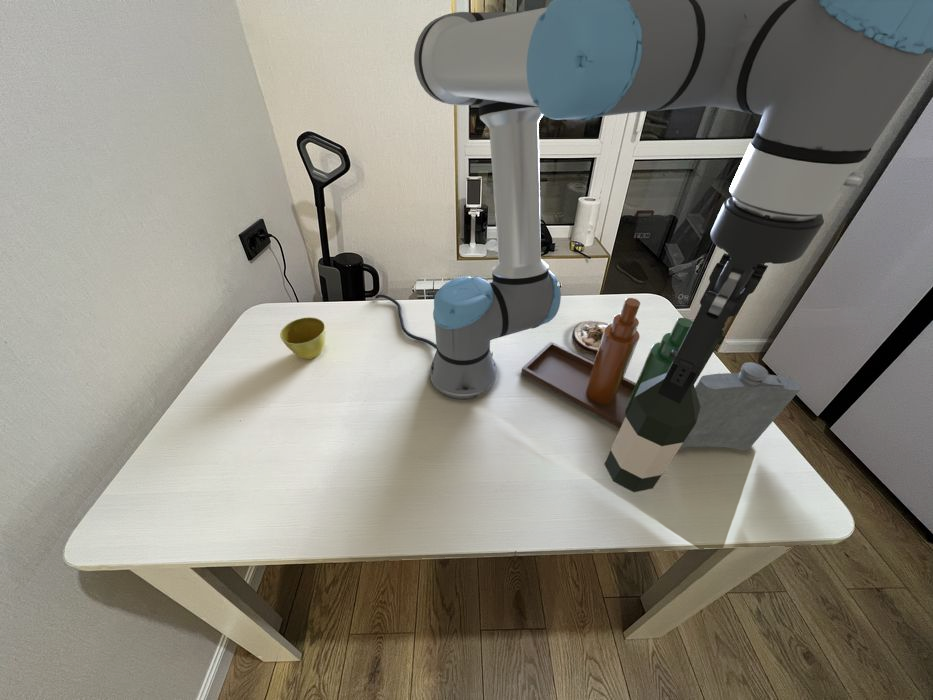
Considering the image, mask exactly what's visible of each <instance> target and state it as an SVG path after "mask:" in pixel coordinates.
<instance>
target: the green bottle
mask: <svg viewBox="0 0 933 700" xmlns="http://www.w3.org/2000/svg"><path fill="white" fill-rule="evenodd" d="M692 322H693V321H692V320H691V319H689V318H686V317H678V318H677V319H676V321H675V323H674V325H673V327H672V329H671V332H667V333H664V334H663V336H662V338H661V339H660V342H656V343H654V344H653V345H652V346H651V347H650V350H649V352H648V354H647V357H646V359H645V362H644V364H643V366H642V368H641V370H640V373H639V375H638V378H637V380H636V381H635V383H636V385H635V387H634V389H633V392H632V394H631V396H630V398H629V401H628V403H627V405H626V408H625V413H626V415H627V413H628V410H629V408H630V406H631V404H632V402H633V399H634V397H635V395H636V393H637V391H638V388H639V386H640V384H641V383H642V382H645V381H647V380H650V379H652V378H655V377H657V376H660V375H662V374H665V373H667V372H668V370H669V368H670V366H671V364H672V362H673V357H671V356H669V355H670V353H671V352H672V350H673V349H674V350H677V351H678V350H679V348H680V346H681V344H682V342H683V340H684V338H685V336H686V334H687V332H688V330H689V328H690V326H691V324H692Z"/></svg>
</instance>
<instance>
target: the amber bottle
mask: <svg viewBox="0 0 933 700" xmlns="http://www.w3.org/2000/svg"><path fill="white" fill-rule="evenodd" d="M640 306H641V301H639V300H638V299H637V298H633V297H628V298H625V299H624V303H623V305H622V308H621V311H620V313H617V314H615V315H614V317H613V319H612V322H611V323H607V324H608V325H607V326H606V327H605V329H604V332H603V335H602V339H601V342H600V345H599V348H598V352H597V355H595V358H594V365H593V368H592V371H591V374H590V378H589V381H588V384H587V387H586V393H587V395H588V397H589V398H590V399H592V400H593V401H595V402H597V403H600V404H609V403H612V402H613V401H614V400H615V399H616V396H617V394H618V391H619V389H620V386H621V383H622V381H623V378H625V375H626V373H627V371H628V368H629V366H630V363H631V361H632V358H633V355H634V353H635V351H636V348H637V345H638V343H639V341H640V336H641V335H640V332H639V331H638V330H637V329H638V326H639V323H640V321H639V319H638V318H637V314H638V312H639V309H640Z"/></svg>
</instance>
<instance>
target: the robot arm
mask: <svg viewBox="0 0 933 700" xmlns="http://www.w3.org/2000/svg"><path fill="white" fill-rule="evenodd" d="M413 53H414V54H413V62H414V63H413V65H414V70H415V74H416V77H417V80H418V81H419V84H420V86H421V87H422V89H423V90H424V92H426V93H427V94H428V96H429V97H431V98H432V99H433V100H435V101H437V102H440V103H442V104H447V105H451V106H478V111H479V120H480V121H481V122H483V124H485V126H487V128H488V129H489V145H490V157H491V169H492V170H491V173H492V186H493V188H492V189H493V200H494V201H493V203H494V217H495V229H496V230H495V231H496V243H497V258H498V262H497V263H496V265H494V266H493V268H492V270H491V275H492V281H491V282H489V281H487V280H486V279H484V278H482V277H478V276H474V277H471V276H461V277H460V276H459V277H457V278H454V279H451V280H449V281H447V282H446V283H444V284H442V286H440V288H439V289H437V292H436V294H435V295H434V299H433V312H432V317H433V320H434V321H433V322H434V331H435V342H434V341H431V340H430V339H427V338H424V337H420V336H417V335H415V334H412V333H411V332H410V331H409V330H407V328H406V327H405V322H404V318H403V312H402V306H401V304H400V303H399V302H398V301H397V300H396V299H394V298H393V297H391V296H389V295H386V294H382V293H381V294H380V293H379V294H377V295H375V296H374V298H375V299H379V298H383V299H386V300H389V301H390V302H392V303H393V304H394V305H396V307H397V313H398V319H399V322H400V327H401V330H402V332H403V333H404V334H405V335H406V336H407V337H409V338H411V339H412V340H416V341H419V342H423V343H426V344H427V345H429V346H431V347H432V348H434V349H435V350H436V351H435V353H434V357H433V359H432V362H431V365H430V380H431V383H432V385H433V387H434V388H435V389H436V390H437V391H438V392H439V393H441V394H442V395H444V396H446V397H448V398H452V399H458V400H470V399H475V398H478V396H479V395H482V394H483V393H486V392H487V391H488V390H489V389H491V387H493V385H494V383H495V381H496V380H497V366H496V362H495V360H494V358H493V355H494V351H491V341H493V340H497V339H499V338H501V337H507V336H510V335H513V334H516V333H519V332H524V331H527V330H530V329H531V330H532V329H536V328H539V327H540V326H542V325H545V324H548V323H549V322H551V321H553V319H554V318H555V317H556V316H557V314H558V312H559V309H560V306H561V299H562V293H561V286H560V285H559V284H558V282H559V279H557V276H556V275H555V274H554V273H553V272H552V271H551V270H550V269H549V268H550V267H549V264H547V262H545V261H544V260H543V259H542V254H541V253H542V249H541V248H542V247H541V246H542V245H541V244H542V243H541V242H542V241H541V196H540V195H541V190H540V188H541V186H540V185H541V184H540V181H541V180H540V133H539V132H540V131H539V129H540V128H539V127H540V126H539V124H540V120H541V119H542V118H543V116H544V117H546V118H548V119H551V120H568V121H591V120H593V119H596V118H600V117H608V116H616V115H625V114H633V113H640V112H641V113H643V112H644V113H645V112H659V111H667V110H668V111H669V110H677V109H688V108H697V107H698V108H699V107H712V108H713V107H714V108H720V109H724V110H732V111H738V112H743V113H746V114H751V115H755V116H761V119H760V122H759V124H758V127H757V129H756V132H755V134H754V137H753V139H752V140H751V141H750V143H749V145H748V147H747V149H746V151H745V154H744V156H743V158H742V160H741V162H740V165H739V166H738V169H737V171H736V173H735V176H734V178H733V179H732V182H731V185H730V187H729V189H728V190H729V194H730V197H728V198H727V199H725V200H724V201H723V204H722V206H721V208H720V211H719V212H718V214H717V217H716V219H715V221H714V222H713V223H714V224H713V226H712V228H711V230H710V238H711V241H712V243H713V244H714V245H715V246H716V247H717V248H719V249H720V250H723V251H724V252H726V253H723V254H722V256H721V258H720V260H719V261H718V262H717V263H716V264H715V265H714V267H713V269H712V271H711V273H710V275H709V277H708V281H709V283H708V285H707V286H706V289H705V291H704V293H703V294H702V297H701V298H700V301H699V304H700V307H699V309H698V311H697V313H696V315H695V317H694V319H693V321H692V322H693V323H692V325H691V327H690V329H689V331H688V333H687V335H686V337H685V339H684V341H683V343H682V345H681V347H680V349H679V351H677V350H674V349H673V350H672V352H671V353H670V355H669V356H671V357H673V364H672V366H671V368H670V370H669V372H668V374H667V375H666V377H665V379H664V381H663V383H662V385H661V387H660V389H659V391H658V393H659V394H661V395H663V396H665V397H667V398H669V399H671V400H673V401H675V402H677V403H679V404H680V402H681V401H682V399H683V397H684V395H685V394H686V392H687V390H688V389H689V387H690V385H691V383H692V382H693V380H694V378H695V377H696V375H697V373H698V371H699V370H700V369H701V366H702V365H703V363H704V362H703V360H704V359H705V357H706V355H707V353H708V352H709V350H710V348H711V347H712V345H713V343H714V341H715V340H716V338H717V336H718V335H719V333H720V331H721V329H722V330H723V329H724V328H725V326H726V323H727V321H728V319H729V318H731V317H735V316H737V314H739V311H740V310H741V308H742V306H744V303H745V301H746V300H747V298H748V296H749V295H751V294H753V293H754V292H755V291H756V289H757V287H758V285H759V283H760V282H761V280H762V279H763V276H764V274H765V273H766V271H767V269H768V267H769V265H767V264H773V265H781V264H788V263H792V262H794V261H797V260H799V259H800V258H801V257H803V256H804V254H805V253H806V251H807V250H808V248H809V246H810V245H811V243H812V242H813V240H814V239H815V237H816V236H817V234H818V232H819V231H820V229H821V228H822V227H823V225H824V224H825V220H824V216H823V214H826V213H829V212H830V211H832V210H833V208H834V207H835V205H836V204H837V202H838V201H839V200H840V197H841V196H842V195H843V193H844V187H851V188H853V187H854V188H855V187H858V186H860V185H861V184H862V182H863V180H864V178H865V177H864V176H865V174H864V173H862V172H855V171H857V170H858V169H859V168H860V167H861V165H862V164H863V161H864V160H865V159H867V157H868V155H869V154H870V153H871V151H872V149H873V148H874V146H875V144H876V142H878V140H879V138H880V136H881V135H882V134H883V132H884V130H885V129H886V127H887V126H888V125H889V123H890V122H891V120H892V118H893V117H894V116H895V114H896V113H897V112H898V111H899V109H900V107H901V105H902V104H903V103H904V101H905V100H906V98H907V97H908V96H909V94H910V92H911V91H912V89H913V88H914V86H915V85H916V84H917V82H918V80H919V79H920V77H921V76H922V75H923V73H924V72H925V70H926V69H927V67H928V65H929V64H930V62H931V61H932V60H933V0H551V1H550V2H549V4H548V5H547V6H546V7H542V8H541V7H540V8H535V9H532V10H517V11H493V12H492V11H490V12H487V11H486V12H484V11H483V12H481V11H480V12H478V11H477V12H475V11H474V12H472V11H471V12H470V11H457V12H450V13H447V14H444V15H440V16H439V17H437V18H435V19H433V20H431V21H430V22H428V24H427V25H426V26H425V27H424V28H423V29H422V31H421V32H420V34H419V36H418V38H417V41H416V44H415V49H414V52H413ZM725 339H726V337H725V336H724V335H723V336H722V338H721V340H720V342H719V343H718V345H719V346H721V345H722V343H723V341H724V340H725Z"/></svg>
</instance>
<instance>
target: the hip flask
mask: <svg viewBox="0 0 933 700" xmlns="http://www.w3.org/2000/svg"><path fill="white" fill-rule="evenodd" d="M694 387H695V390H696V393H697V397H698V400H699V403H700V411H699V415H698V418H697V422H696V424H695V426H694V427H693V429H692V430H691V432H690V433H689V435H688V436H687V438H686V439H685V441H684V442H683V444H682V445H681V447H680V448H679V449H685V448H693V447H695V448H696V447H717V448H728V449H736V450H742V451H748V450H750V449H751V447H752V446H753V445H754V444H755V443H756V442H757V440H758V439H759V438H760V437H761V436H762V435H763V434H764V433H765V431H766V430H768V428H769V426H770V425H772V423H773V422H774V421H775V419H777V418H778V416H779V415H780V414H781V412H783V410H785V408H786V407H787V406H788V405H789V404H790V403H791V401H792V400H793V399H794V398H795V397H796V395H797V394H798V393H799V392H800V391H801V390H802V385H801V384H800V382H799V381H797V379H796V380H795V379H794V378H792V377H789V376H784V375H783V376H782V375H777V374H776V375H775V374H769V371H768V370H767V369H766V367H764V366H763V365H761V364H759V363H756V362H752V361H748V362H744V363H743V364H742V365H741V367H740V372H725V373H723V372H722V373H712V374H706V375H702V376H701V377H700V378H699V380H698V382H697V383H696V385H695V386H694Z"/></svg>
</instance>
